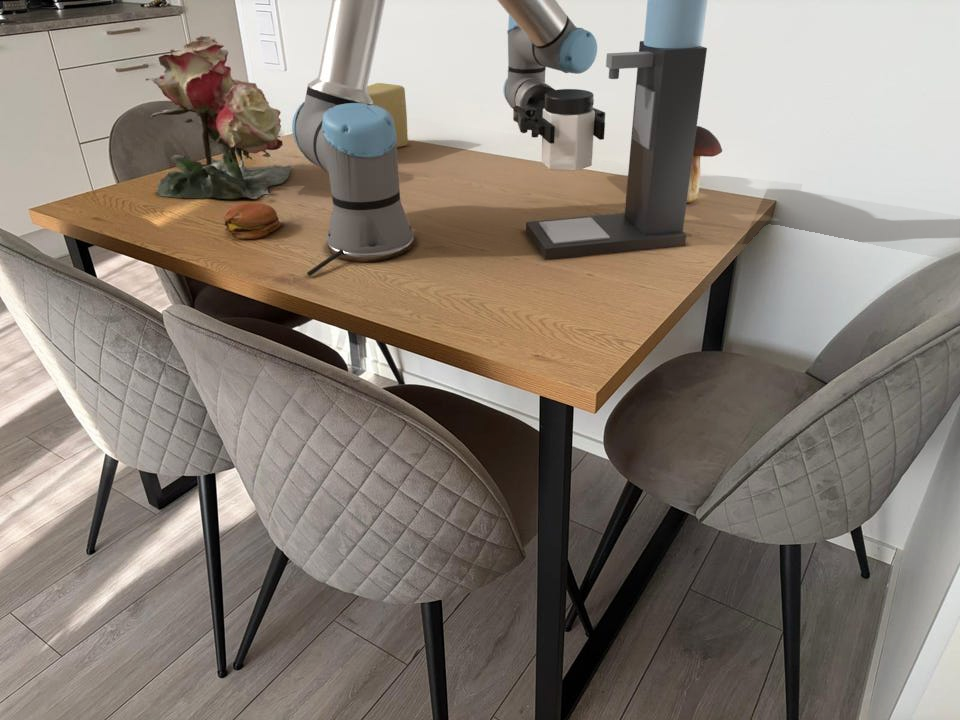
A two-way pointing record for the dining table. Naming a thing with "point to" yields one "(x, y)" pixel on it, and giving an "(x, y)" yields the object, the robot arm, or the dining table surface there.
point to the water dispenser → (647, 142)
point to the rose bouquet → (219, 125)
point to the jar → (569, 129)
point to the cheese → (392, 107)
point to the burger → (251, 220)
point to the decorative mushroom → (705, 147)
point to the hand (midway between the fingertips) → (577, 133)
